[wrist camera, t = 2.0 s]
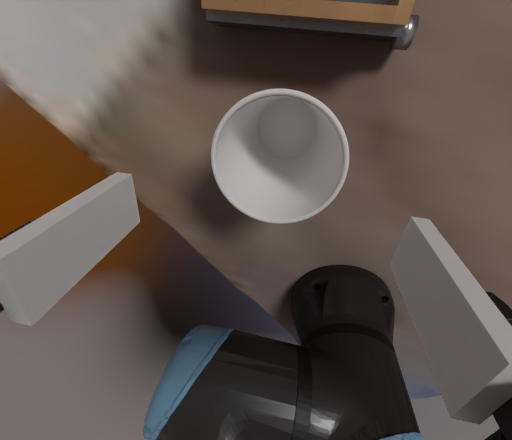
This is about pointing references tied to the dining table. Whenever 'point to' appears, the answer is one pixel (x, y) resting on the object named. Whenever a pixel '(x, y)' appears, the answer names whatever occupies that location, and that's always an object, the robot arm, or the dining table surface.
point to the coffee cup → (280, 156)
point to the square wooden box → (321, 17)
